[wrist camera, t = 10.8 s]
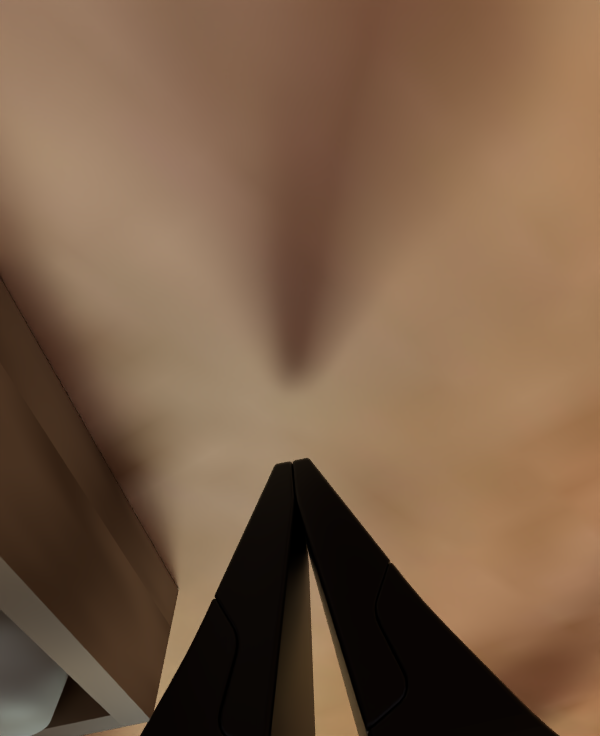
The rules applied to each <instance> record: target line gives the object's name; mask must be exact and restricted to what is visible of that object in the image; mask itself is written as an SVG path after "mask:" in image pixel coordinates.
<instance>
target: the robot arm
mask: <svg viewBox="0 0 600 736" xmlns="http://www.w3.org/2000/svg"><path fill="white" fill-rule="evenodd" d="M307 548H308V549H307ZM308 552H309V556H310V561H311V565H312V568H313V572H314V576H315V579H316V583H317V586H318V590H319V594H320V597H321V601H322V604H323V608H324V612H325V615H326V619H327V622H328V626H329V630H330V633H331V637H332V641H333V644H334V648H335V651H336V655H337V659H338V662H339V666H340V669H341V673H342V677H343V680H344V684H345V687H346V691H347V695H348V698H349V702H350V706H351V709H352V713H353V716H354V720H355V724H356V727H357V731H358V734H359V736H559V735H558V734H556V733H555V732H554V731H553V730H552V729H551V728H549V727H548V726H547V725H546V724H545V723H544V722H543V721H542V720H540V719H539V718H538V717H537V716H536V715H535V714H534V713H533V712H532V711H531V710H530V709H529V708H528V707H527V706H526V705H525V704H524V703H523V702H521V701H520V700H519V699H518V698H517V697H516V696H515V695H514V694H513V693H512V692H511V691H510V689H509V688H508V687H507V686H506V685H505V684H504V683H503V682H502V681H501V680H500V679H499V678H498V677H497V676H496V675H495V674H494V673H493V672H492V671H491V670H490V669H489V668H488V667H487V666H486V665H485V664H484V663H483V662H482V661H481V660H480V659H479V658H478V657H477V656H476V655H475V654H474V653H473V652H472V651H471V650H470V649H469V648H468V647H467V646H466V645H465V644H464V643H463V642H462V641H461V640H460V639H459V638H458V637H457V636H456V635H455V634H454V633H453V632H452V631H451V630H450V629H449V628H448V627H447V626H446V625H445V623H444V622H443V621H442V620H441V619H440V618H439V617H438V616H437V615H436V614H435V613H434V612H433V611H432V610H431V609H430V607H429V606H428V605H427V604H426V603H425V602H424V601H423V600H422V599H421V597H420V596H419V595H418V594H417V593H416V591H415V590H414V589H413V588H412V587H411V585H410V584H409V583H408V582H407V581H406V580H405V578H404V577H403V576H402V575H401V573H400V572H399V571H398V570H397V568H396V567H395V566H394V564H393V563H390V560H389V558H388V557H387V556H386V555H385V553H384V552H383V551H382V550H381V548H380V547H379V546H378V545H377V543H376V542H375V541H374V540H373V538H372V537H371V536H370V535H369V533H368V532H367V531H366V529H365V528H364V527H363V526H362V524H361V523H360V522H359V521H358V519H357V518H356V517H355V516H354V514H353V513H352V512H351V511H350V509H349V508H348V507H347V505H346V504H345V503H344V502H343V500H342V499H341V498H340V497H339V495H338V494H337V493H336V492H335V490H334V489H333V488H332V487H331V485H330V484H329V483H328V482H327V480H326V479H325V478H324V476H323V475H322V474H321V473H320V471H319V470H318V469H317V468H316V466H315V465H314V464H313V463H312V461H311V460H310V459H309V458H304V459H299V460H295V461H293V464H292V462H284V463H279V464H276V465H275V466H274V468H273V470H272V472H271V475H270V477H269V479H268V481H267V483H266V485H265V488H264V490H263V492H262V494H261V496H260V498H259V501H258V503H257V505H256V507H255V509H254V511H253V514H252V516H251V518H250V520H249V522H248V524H247V527H246V529H245V531H244V533H243V535H242V537H241V540H240V542H239V544H238V546H237V548H236V550H235V553H234V555H233V557H232V559H231V561H230V563H229V566H228V568H227V570H226V572H225V574H224V576H223V579H222V581H221V583H220V585H219V587H218V589H217V592H216V594H215V598H216V599H213V600H212V602H211V604H210V606H209V608H208V611H207V613H206V615H205V617H204V619H203V621H202V623H201V625H200V628H199V630H198V632H197V634H196V636H195V638H194V640H193V642H192V644H191V646H190V648H189V650H188V652H187V654H186V655H185V657H184V659H183V661H182V663H181V664H180V666H179V668H178V670H177V672H176V674H175V675H174V677H173V679H172V681H171V683H170V684H169V686H168V688H167V690H166V691H165V693H164V695H163V697H162V698H161V700H160V702H159V704H158V705H157V707H156V709H155V711H154V712H153V714H152V716H151V718H150V719H149V721H148V723H147V725H146V726H145V728H144V730H143V731H142V733H141V735H140V736H315V715H314V688H313V662H312V635H311V608H310V581H309V559H308Z"/></svg>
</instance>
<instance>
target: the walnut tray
mask: <svg viewBox="0 0 600 736" xmlns="http://www.w3.org/2000/svg"><path fill="white" fill-rule="evenodd" d="M177 595H178V589H177V587H176V585H175V583H174V582H173V580H172V578H171V576H170V575H169V573H168V571H167V569H166V568H165V566H164V564H163V562H162V561H161V559H160V557H159V555H158V554H157V552H156V550H155V548H154V547H153V545H152V543H151V541H150V540H149V538H148V536H147V534H146V533H145V531H144V529H143V527H142V526H141V524H140V522H139V520H138V519H137V517H136V515H135V513H134V512H133V510H132V508H131V506H130V504H129V503H128V501H127V499H126V497H125V496H124V494H123V492H122V490H121V489H120V487H119V485H118V483H117V482H116V480H115V478H114V476H113V475H112V473H111V471H110V469H109V468H108V466H107V464H106V462H105V461H104V459H103V457H102V455H101V454H100V452H99V450H98V448H97V447H96V445H95V443H94V441H93V440H92V438H91V436H90V434H89V433H88V431H87V429H86V427H85V426H84V424H83V422H82V420H81V419H80V417H79V415H78V413H77V412H76V410H75V408H74V406H73V405H72V403H71V401H70V399H69V398H68V396H67V394H66V392H65V391H64V389H63V387H62V385H61V384H60V382H59V380H58V378H57V377H56V375H55V373H54V371H53V369H52V368H51V366H50V364H49V362H48V361H47V359H46V357H45V355H44V354H43V352H42V350H41V348H40V347H39V345H38V343H37V341H36V340H35V338H34V336H33V334H32V333H31V331H30V329H29V327H28V326H27V324H26V322H25V320H24V319H23V317H22V315H21V313H20V312H19V310H18V308H17V306H16V305H15V303H14V301H13V299H12V298H11V296H10V294H9V292H8V291H7V289H6V287H5V285H4V284H3V282H2V280H1V278H0V736H82V735H87V734H91V733H96V732H101V731H106V730H111V729H115V728H120V727H125V726H130V725H135V724H139V723H144V722H148V721H149V719H150V718H151V716H152V714H153V712H154V708H155V703H156V698H157V693H158V688H159V683H160V678H161V673H162V668H163V664H164V659H165V654H166V649H167V644H168V639H169V634H170V629H171V624H172V620H173V615H174V610H175V605H176V600H177Z"/></svg>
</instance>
